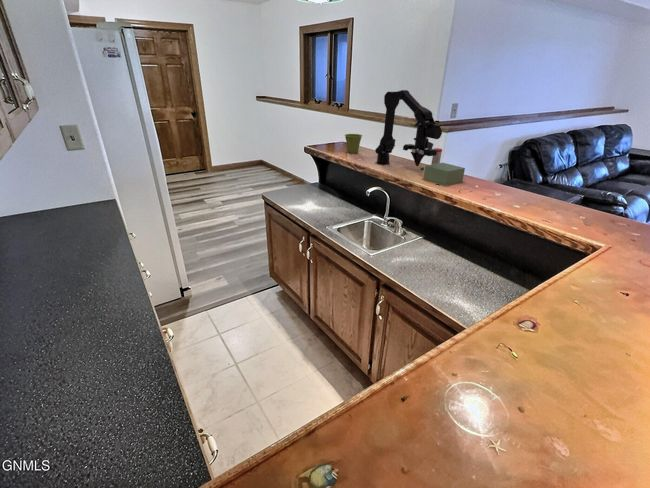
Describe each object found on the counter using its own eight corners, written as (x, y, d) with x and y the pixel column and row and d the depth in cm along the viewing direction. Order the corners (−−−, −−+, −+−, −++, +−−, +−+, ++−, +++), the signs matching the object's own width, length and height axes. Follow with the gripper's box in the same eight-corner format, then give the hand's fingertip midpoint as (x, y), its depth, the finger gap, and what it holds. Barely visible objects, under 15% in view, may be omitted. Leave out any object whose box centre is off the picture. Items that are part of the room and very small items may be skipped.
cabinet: (423, 179, 179) (425, 165, 176) (440, 175, 186) (442, 162, 183) (445, 185, 169) (447, 171, 166) (462, 182, 176) (465, 168, 173)
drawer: (416, 175, 183) (417, 165, 180) (431, 172, 189) (433, 162, 187) (442, 182, 170) (444, 172, 168) (458, 179, 177) (460, 169, 175)
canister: (429, 171, 194) (433, 149, 189) (430, 169, 198) (433, 147, 193) (438, 172, 193) (442, 150, 188) (438, 170, 197) (442, 148, 192)
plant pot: (342, 150, 241) (343, 133, 236) (359, 150, 242) (360, 133, 237) (345, 154, 230) (346, 136, 225) (362, 154, 232) (364, 136, 227)
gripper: (446, 137, 179) (440, 168, 186) (418, 132, 193) (414, 160, 200) (431, 139, 173) (426, 170, 180) (404, 133, 187) (400, 163, 194)
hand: (417, 166), depth 189 cm, fingers closed
